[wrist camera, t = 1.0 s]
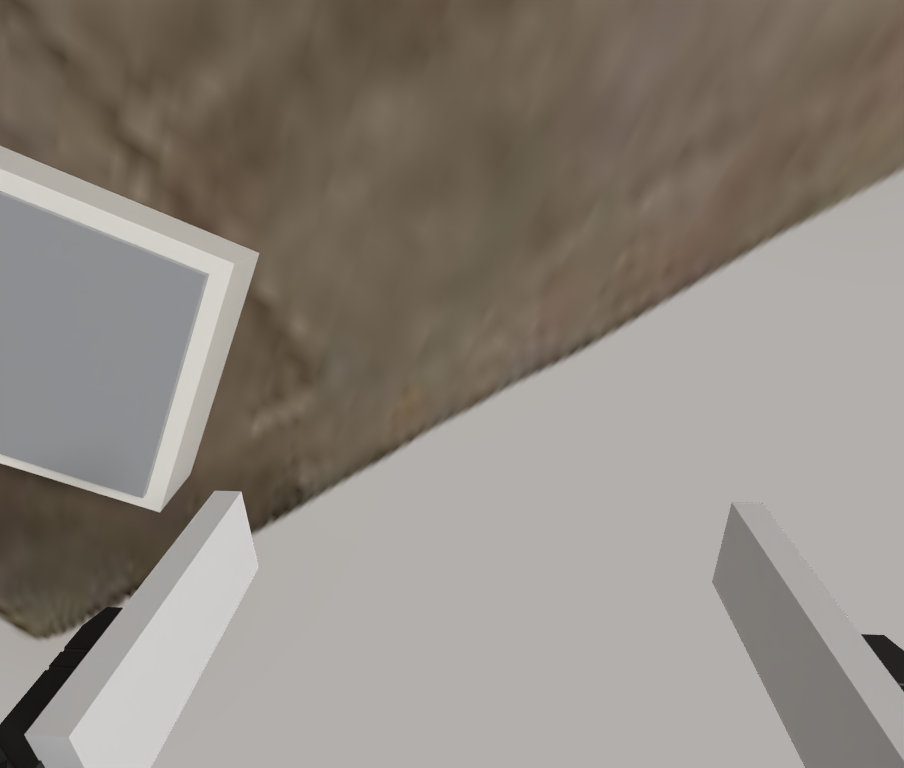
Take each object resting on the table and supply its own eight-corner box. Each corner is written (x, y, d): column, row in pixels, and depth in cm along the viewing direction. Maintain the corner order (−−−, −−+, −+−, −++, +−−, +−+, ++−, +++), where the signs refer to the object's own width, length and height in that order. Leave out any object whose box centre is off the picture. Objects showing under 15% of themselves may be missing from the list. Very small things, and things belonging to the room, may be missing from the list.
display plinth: (-36, 130, 28) (-128, 119, 23) (259, 253, 31) (231, 265, 27) (-69, 389, 33) (-149, 423, 28) (190, 474, 36) (156, 517, 31)
